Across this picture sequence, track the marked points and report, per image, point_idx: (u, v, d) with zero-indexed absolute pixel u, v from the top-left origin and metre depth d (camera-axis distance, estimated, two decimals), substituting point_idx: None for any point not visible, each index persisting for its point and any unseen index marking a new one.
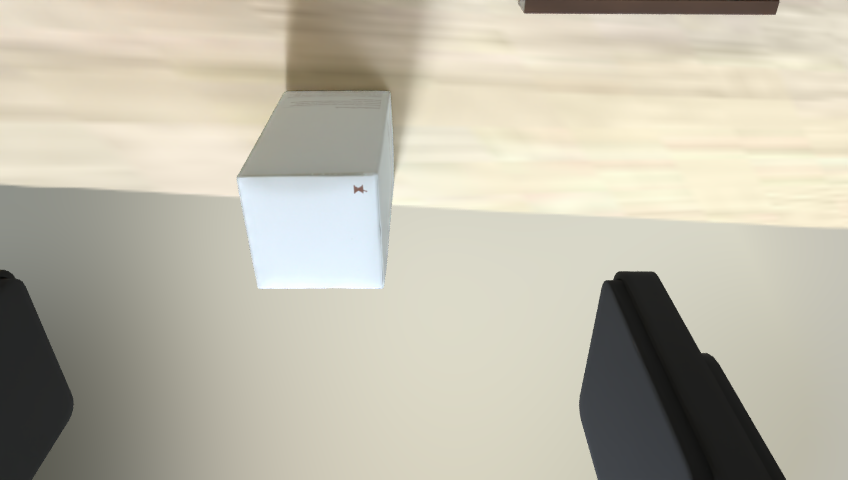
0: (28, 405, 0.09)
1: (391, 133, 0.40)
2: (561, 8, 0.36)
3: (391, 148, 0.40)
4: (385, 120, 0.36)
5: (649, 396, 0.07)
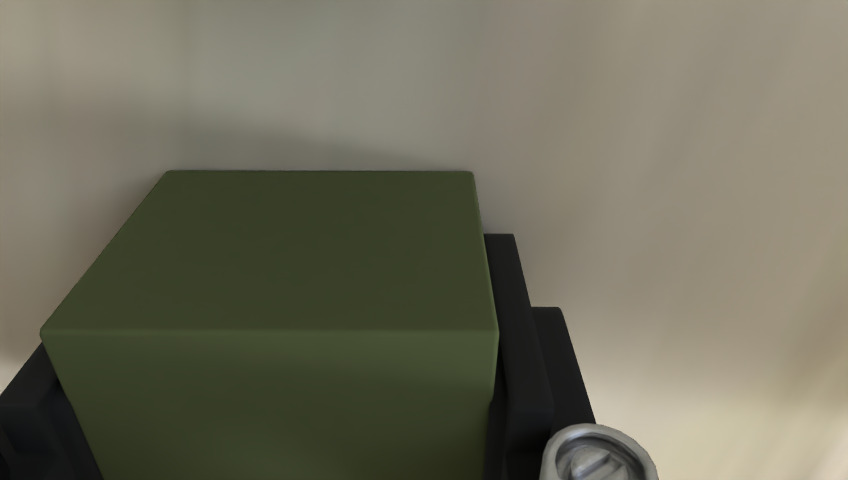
0: None
1: None
2: None
3: None
4: None
5: None
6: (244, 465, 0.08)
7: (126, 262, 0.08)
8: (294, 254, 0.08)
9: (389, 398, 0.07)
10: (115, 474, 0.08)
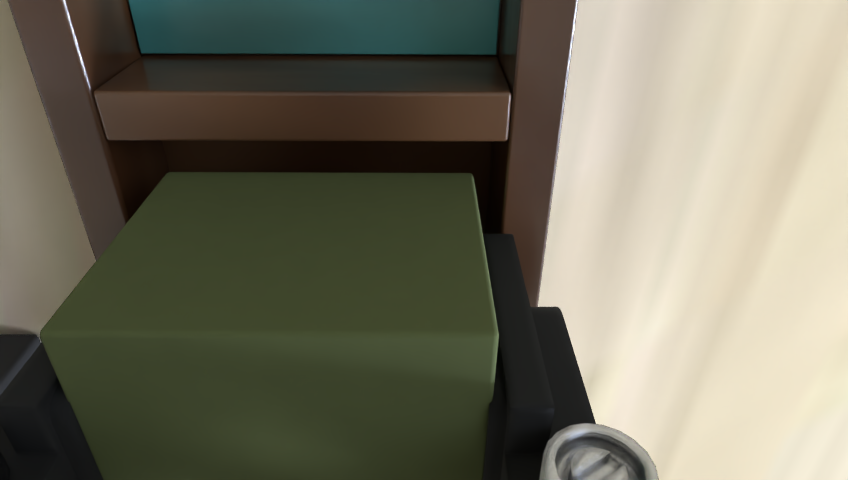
0: None
1: None
2: None
3: None
4: None
5: None
6: (243, 466, 0.08)
7: (127, 263, 0.08)
8: (293, 256, 0.08)
9: (389, 399, 0.07)
10: (115, 476, 0.08)
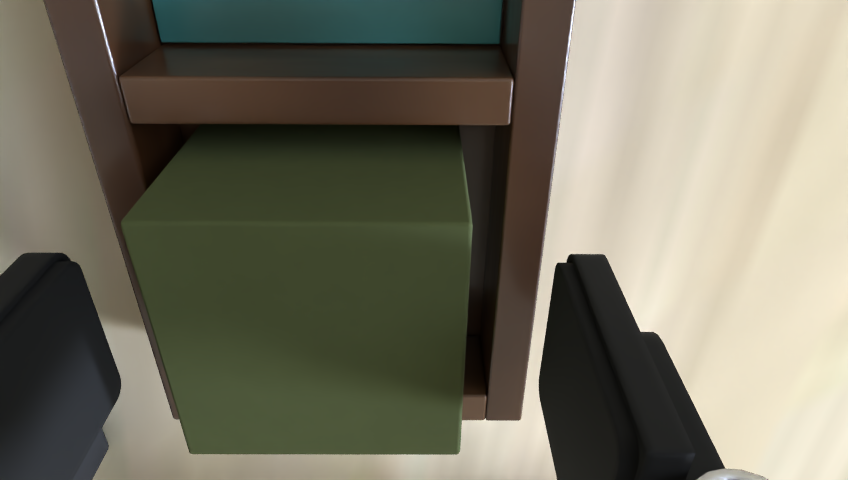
0: (83, 383, 0.10)
1: None
2: (516, 348, 0.13)
3: None
4: None
5: (588, 369, 0.08)
6: (272, 341, 0.10)
7: (181, 180, 0.10)
8: (313, 174, 0.10)
9: (388, 280, 0.09)
10: (170, 350, 0.10)
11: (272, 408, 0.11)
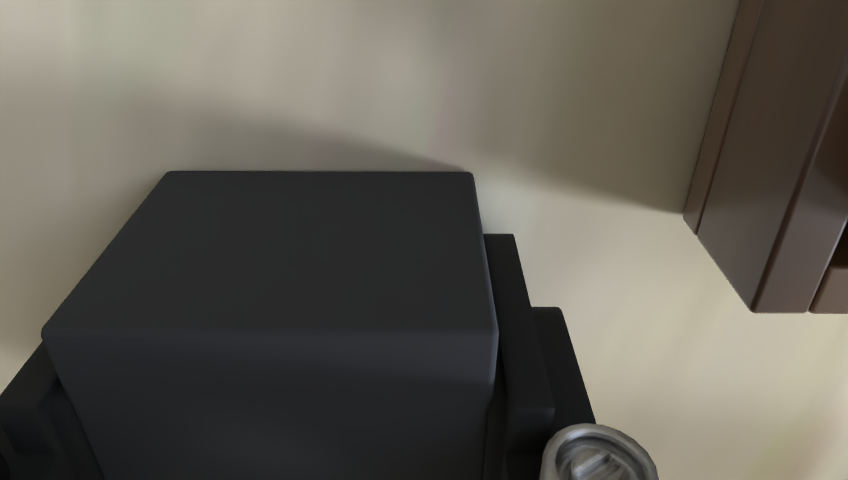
0: None
1: None
2: None
3: None
4: None
5: None
6: None
7: None
8: None
9: None
10: None
11: None
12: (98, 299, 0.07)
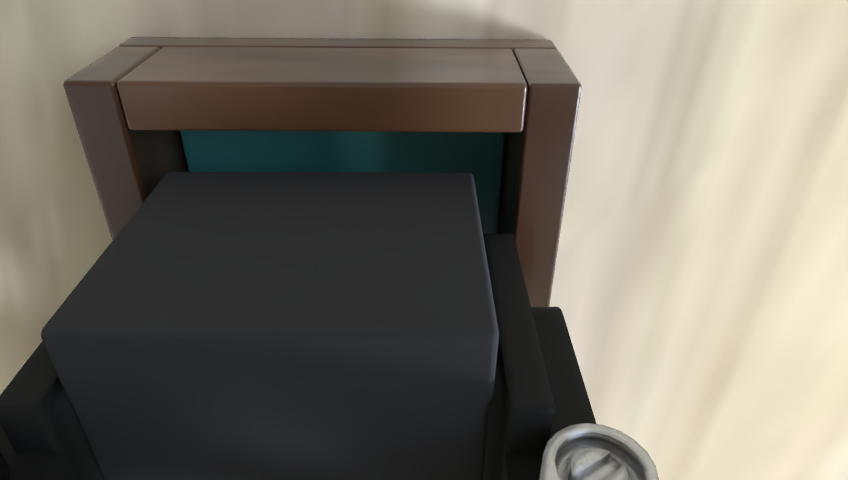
0: None
1: None
2: None
3: None
4: None
5: None
6: None
7: None
8: None
9: None
10: None
11: None
12: (98, 300, 0.07)
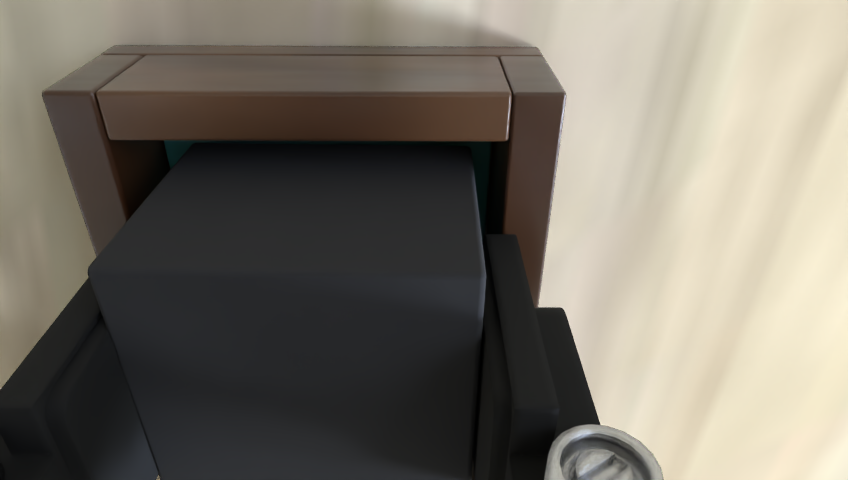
0: None
1: None
2: None
3: None
4: None
5: (483, 338, 0.08)
6: None
7: None
8: None
9: None
10: None
11: None
12: (136, 245, 0.08)
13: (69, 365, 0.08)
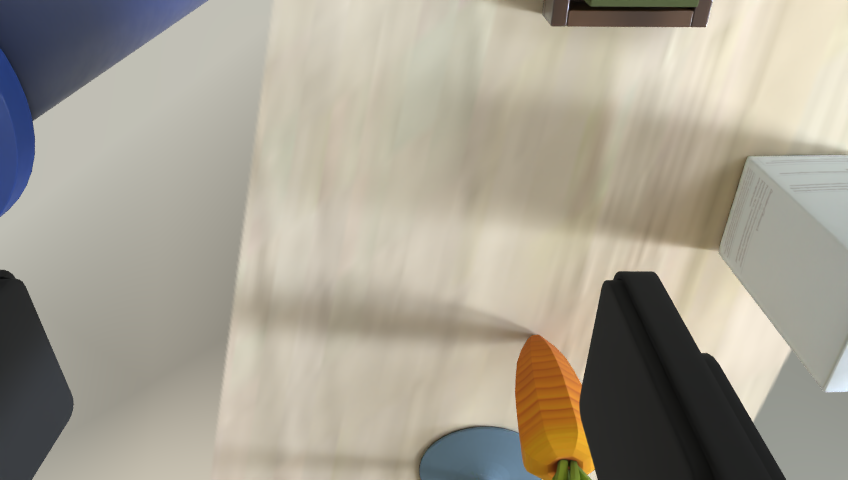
0: (28, 405, 0.09)
1: (802, 169, 0.35)
2: None
3: (822, 175, 0.34)
4: (792, 197, 0.33)
5: (649, 396, 0.07)
6: None
7: None
8: None
9: None
10: None
11: None
12: None
13: None
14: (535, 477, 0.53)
